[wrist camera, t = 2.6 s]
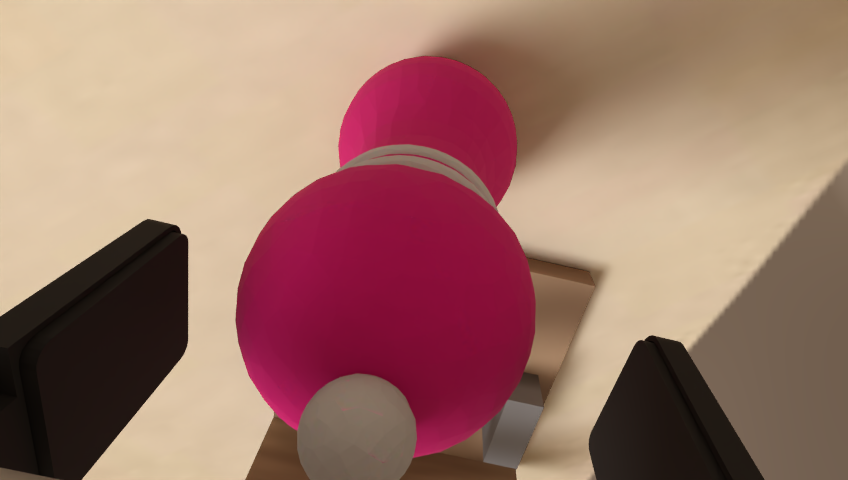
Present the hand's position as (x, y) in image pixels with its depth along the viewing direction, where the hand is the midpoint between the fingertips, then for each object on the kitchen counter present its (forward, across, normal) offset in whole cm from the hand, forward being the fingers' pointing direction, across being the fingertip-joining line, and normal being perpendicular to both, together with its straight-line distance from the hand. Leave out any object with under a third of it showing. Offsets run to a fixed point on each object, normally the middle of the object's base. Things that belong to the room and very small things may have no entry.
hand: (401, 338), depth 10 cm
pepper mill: (+16, +1, -1) cm, 16 cm away
